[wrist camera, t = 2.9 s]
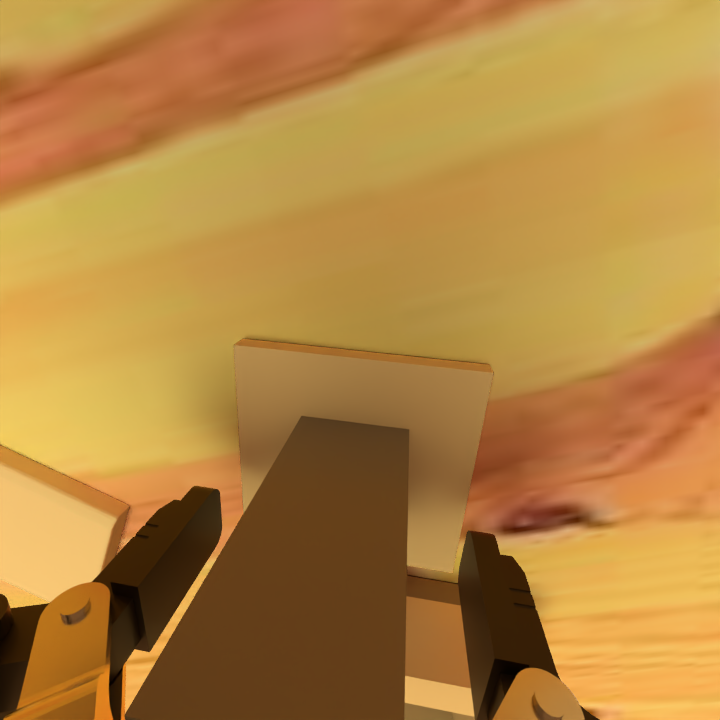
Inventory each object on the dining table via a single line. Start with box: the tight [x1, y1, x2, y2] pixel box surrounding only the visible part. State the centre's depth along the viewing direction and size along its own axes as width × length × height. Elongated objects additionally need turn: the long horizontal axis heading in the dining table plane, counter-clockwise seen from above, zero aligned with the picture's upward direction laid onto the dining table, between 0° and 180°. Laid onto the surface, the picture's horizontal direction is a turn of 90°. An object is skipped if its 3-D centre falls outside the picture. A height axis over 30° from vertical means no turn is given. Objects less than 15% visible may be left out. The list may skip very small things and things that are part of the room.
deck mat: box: [234, 339, 494, 573], centre depth 15 cm, size 9×9×1 cm
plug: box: [124, 416, 409, 720], centre depth 10 cm, size 4×4×9 cm
